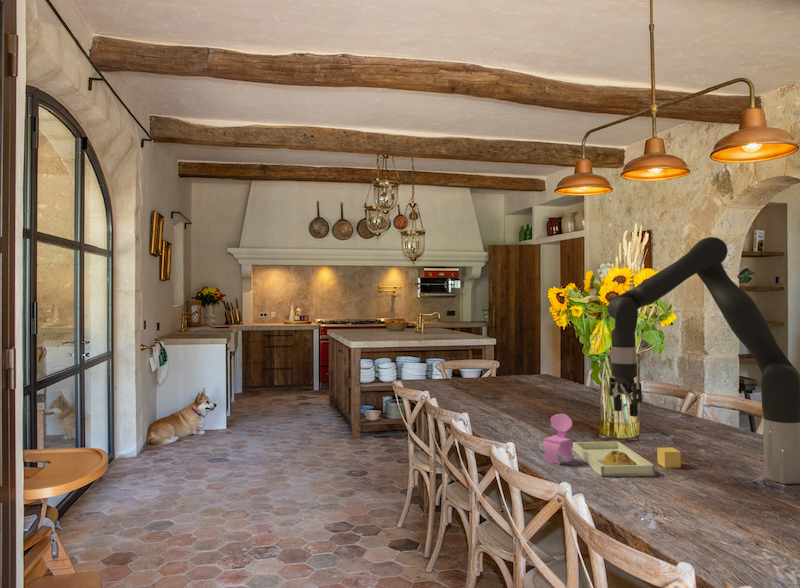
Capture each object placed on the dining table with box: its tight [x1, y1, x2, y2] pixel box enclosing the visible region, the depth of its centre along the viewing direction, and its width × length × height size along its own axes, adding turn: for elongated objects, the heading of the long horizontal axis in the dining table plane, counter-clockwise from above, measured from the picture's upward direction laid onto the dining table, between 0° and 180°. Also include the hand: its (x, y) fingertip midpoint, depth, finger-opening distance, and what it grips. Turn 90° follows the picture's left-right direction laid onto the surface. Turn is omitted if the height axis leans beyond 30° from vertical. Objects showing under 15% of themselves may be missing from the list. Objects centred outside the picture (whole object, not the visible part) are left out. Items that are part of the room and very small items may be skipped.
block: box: [656, 447, 682, 469], centre depth 178 cm, size 5×5×5 cm
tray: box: [572, 440, 656, 477], centre depth 182 cm, size 28×16×3 cm, turn 0°
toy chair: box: [542, 413, 575, 465], centre depth 185 cm, size 8×9×15 cm
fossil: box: [603, 451, 637, 466], centre depth 175 cm, size 11×6×10 cm
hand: (625, 413), depth 175 cm, fingers open, 8 cm apart
